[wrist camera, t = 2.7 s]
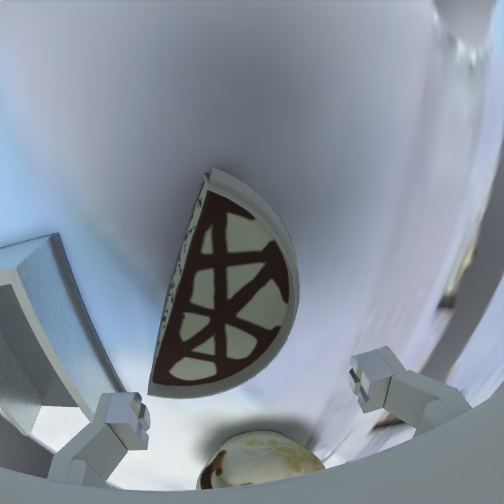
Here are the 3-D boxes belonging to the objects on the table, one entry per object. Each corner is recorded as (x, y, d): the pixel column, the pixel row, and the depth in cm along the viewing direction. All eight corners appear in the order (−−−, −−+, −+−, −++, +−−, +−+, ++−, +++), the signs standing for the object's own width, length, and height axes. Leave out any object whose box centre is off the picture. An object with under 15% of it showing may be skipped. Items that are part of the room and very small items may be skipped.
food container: (235, 323, 26) (251, 419, 16) (163, 304, 24) (145, 400, 15) (295, 182, 22) (356, 226, 12) (211, 152, 20) (212, 174, 11)
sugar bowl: (154, 436, 31) (149, 548, 17) (255, 384, 29) (285, 523, 15) (253, 483, 38) (268, 563, 25) (338, 444, 36) (372, 530, 23)
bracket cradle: (-38, 259, 20) (-73, 288, 14) (58, 232, 20) (20, 266, 15) (40, 402, 27) (25, 440, 22) (132, 403, 28) (125, 449, 23)
